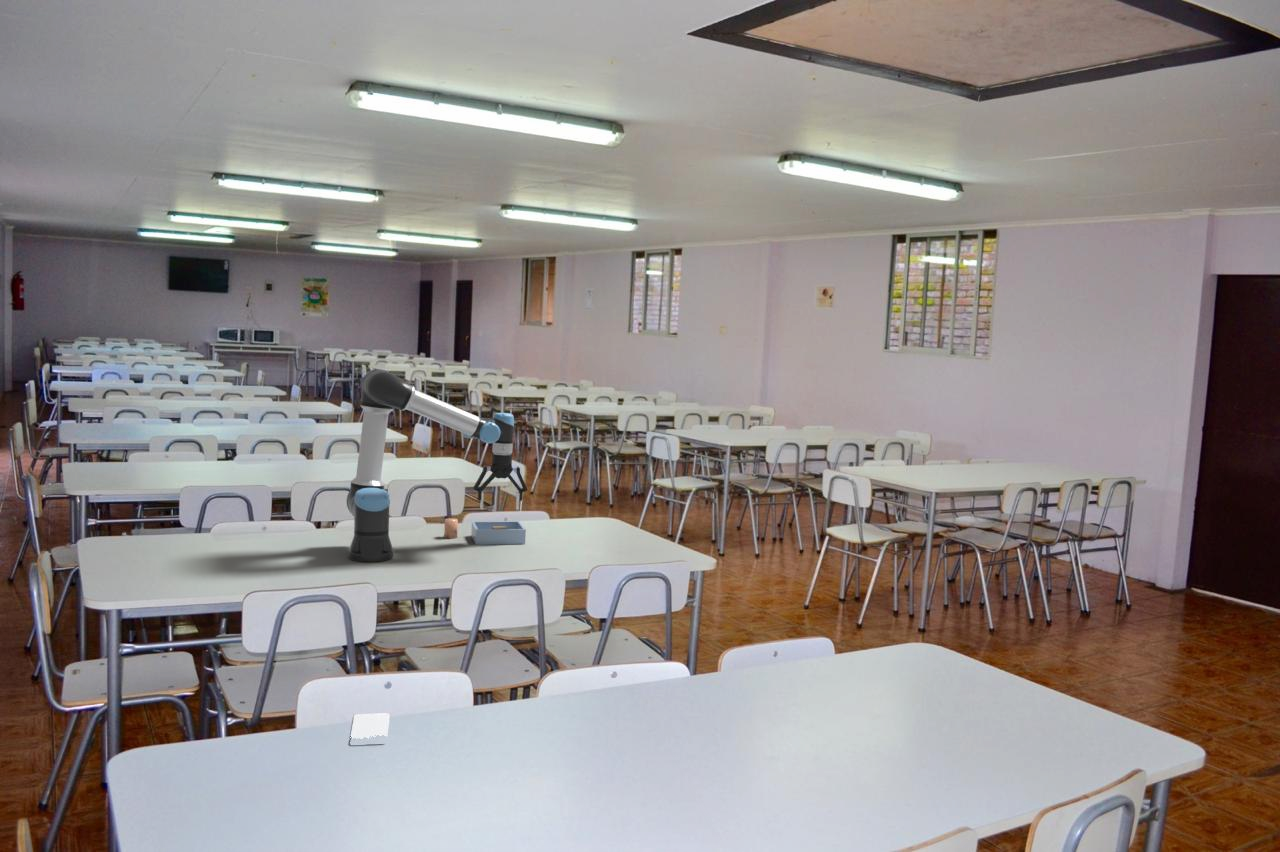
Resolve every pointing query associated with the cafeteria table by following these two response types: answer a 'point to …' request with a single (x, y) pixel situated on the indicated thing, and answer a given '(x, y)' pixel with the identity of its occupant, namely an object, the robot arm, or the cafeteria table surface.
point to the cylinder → (450, 528)
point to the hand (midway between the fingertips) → (499, 509)
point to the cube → (499, 527)
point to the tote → (498, 533)
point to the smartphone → (370, 725)
